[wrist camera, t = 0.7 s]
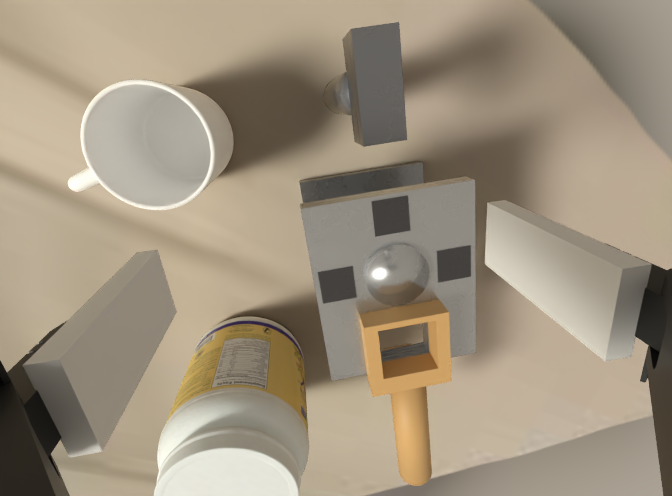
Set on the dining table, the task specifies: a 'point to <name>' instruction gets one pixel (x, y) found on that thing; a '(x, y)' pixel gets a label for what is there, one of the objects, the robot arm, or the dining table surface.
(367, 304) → the ball joint plate
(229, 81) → the dining table surface
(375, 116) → the wedge pin
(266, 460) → the supplement tub
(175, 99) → the cup
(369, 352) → the wooden handled frame
